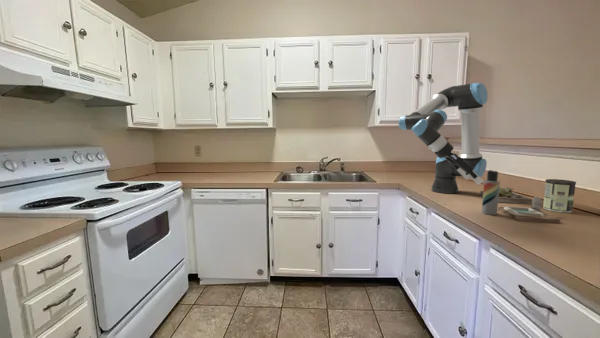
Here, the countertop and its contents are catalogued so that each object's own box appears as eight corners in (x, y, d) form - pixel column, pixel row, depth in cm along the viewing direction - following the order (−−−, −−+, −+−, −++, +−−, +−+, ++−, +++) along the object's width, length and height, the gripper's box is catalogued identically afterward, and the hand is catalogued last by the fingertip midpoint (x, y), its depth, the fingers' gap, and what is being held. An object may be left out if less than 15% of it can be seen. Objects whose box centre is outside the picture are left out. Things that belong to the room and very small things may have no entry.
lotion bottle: (485, 210, 123) (488, 169, 121) (499, 213, 119) (503, 170, 116) (479, 212, 120) (482, 170, 118) (493, 216, 116) (497, 171, 113)
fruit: (510, 200, 149) (515, 187, 146) (509, 204, 142) (514, 191, 139) (491, 195, 154) (495, 182, 152) (489, 199, 147) (493, 186, 145)
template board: (498, 210, 125) (499, 194, 124) (535, 212, 121) (536, 196, 120) (516, 220, 109) (518, 203, 108) (559, 223, 106) (562, 205, 105)
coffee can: (561, 207, 129) (564, 179, 127) (578, 213, 119) (582, 183, 117) (537, 206, 131) (540, 178, 129) (552, 212, 121) (555, 182, 119)
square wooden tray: (480, 195, 156) (480, 191, 155) (513, 196, 152) (513, 192, 151) (493, 202, 139) (494, 197, 139) (531, 203, 135) (531, 199, 135)
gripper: (428, 151, 133) (458, 181, 132) (441, 154, 109) (478, 191, 108) (440, 140, 131) (471, 171, 130) (456, 142, 107) (494, 179, 106)
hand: (474, 180), depth 119 cm, fingers open, 13 cm apart
